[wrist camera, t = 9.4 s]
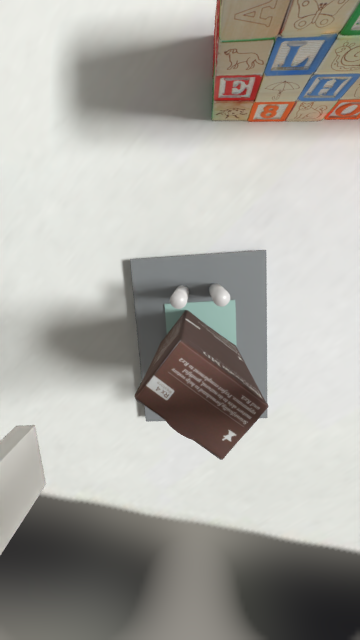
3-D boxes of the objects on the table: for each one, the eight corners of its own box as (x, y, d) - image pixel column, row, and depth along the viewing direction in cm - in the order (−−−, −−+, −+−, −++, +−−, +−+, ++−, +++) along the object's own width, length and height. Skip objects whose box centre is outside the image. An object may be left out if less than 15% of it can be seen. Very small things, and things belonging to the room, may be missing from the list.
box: (239, 343, 26) (274, 408, 14) (208, 378, 27) (218, 468, 15) (186, 303, 26) (179, 338, 14) (157, 341, 27) (127, 404, 15)
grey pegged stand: (147, 416, 30) (132, 462, 23) (132, 259, 26) (110, 258, 20) (264, 412, 29) (286, 459, 22) (263, 250, 26) (288, 245, 19)
